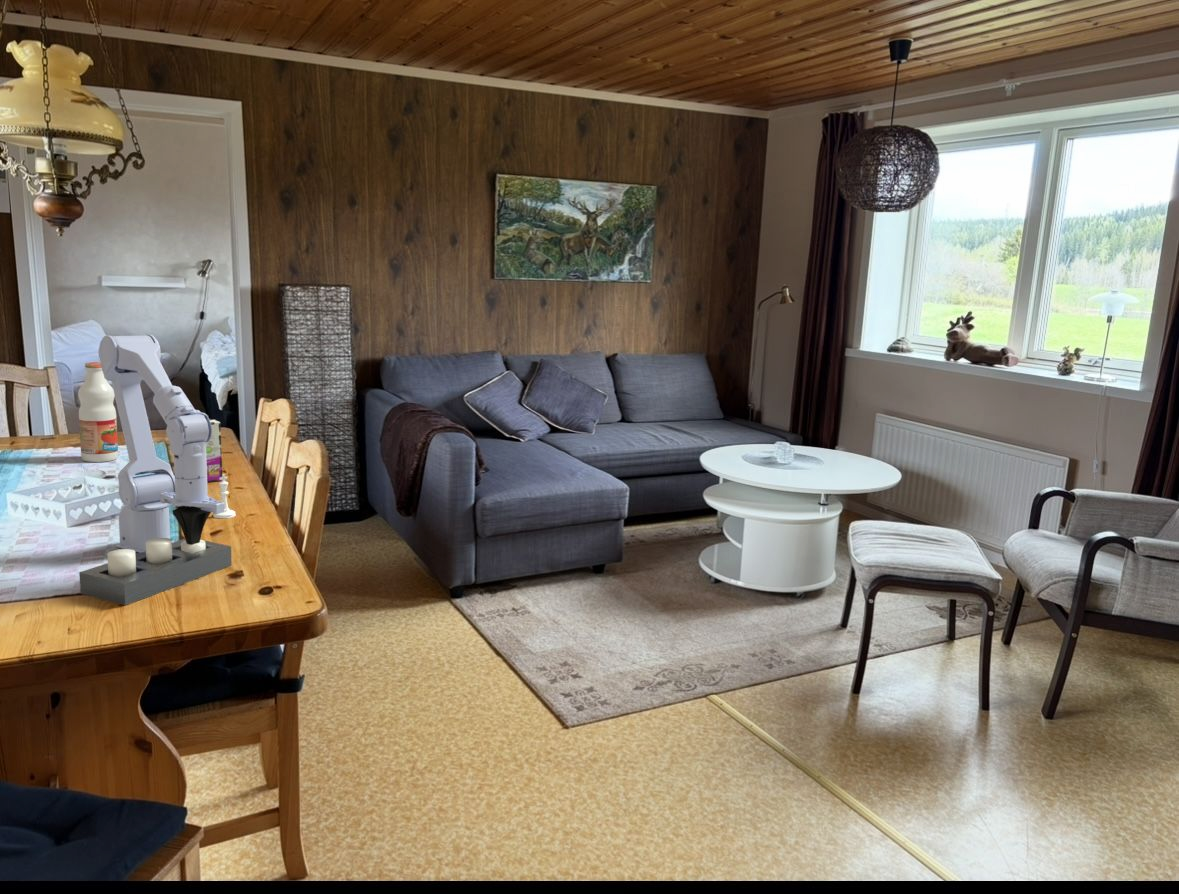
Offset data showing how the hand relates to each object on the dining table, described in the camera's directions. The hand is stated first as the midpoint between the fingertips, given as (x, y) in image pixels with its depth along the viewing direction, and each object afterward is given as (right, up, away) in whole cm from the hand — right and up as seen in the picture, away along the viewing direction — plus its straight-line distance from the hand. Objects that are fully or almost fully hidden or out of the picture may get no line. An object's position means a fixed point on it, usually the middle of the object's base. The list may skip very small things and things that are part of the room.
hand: (193, 543), depth 170 cm
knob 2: (0, -4, +1) cm, 4 cm away
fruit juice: (-65, +15, +81) cm, 105 cm away
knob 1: (-6, -4, -14) cm, 16 cm away
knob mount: (-3, -6, -6) cm, 9 cm away
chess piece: (-9, +2, +35) cm, 36 cm away
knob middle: (-3, -3, -7) cm, 8 cm away
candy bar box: (-28, +9, +64) cm, 70 cm away
